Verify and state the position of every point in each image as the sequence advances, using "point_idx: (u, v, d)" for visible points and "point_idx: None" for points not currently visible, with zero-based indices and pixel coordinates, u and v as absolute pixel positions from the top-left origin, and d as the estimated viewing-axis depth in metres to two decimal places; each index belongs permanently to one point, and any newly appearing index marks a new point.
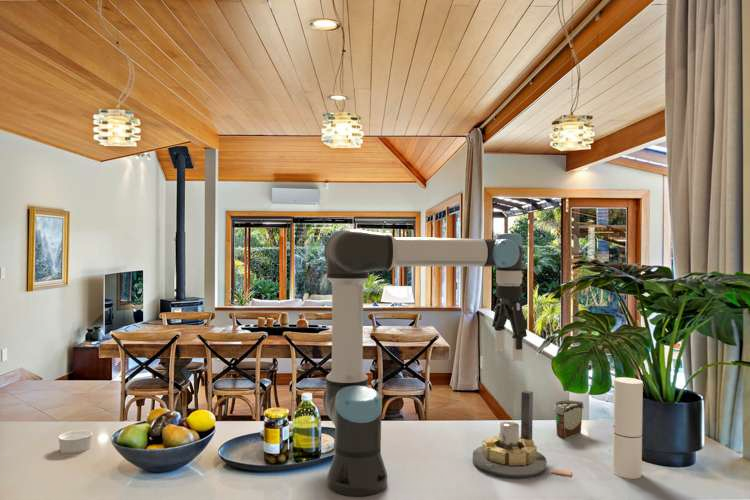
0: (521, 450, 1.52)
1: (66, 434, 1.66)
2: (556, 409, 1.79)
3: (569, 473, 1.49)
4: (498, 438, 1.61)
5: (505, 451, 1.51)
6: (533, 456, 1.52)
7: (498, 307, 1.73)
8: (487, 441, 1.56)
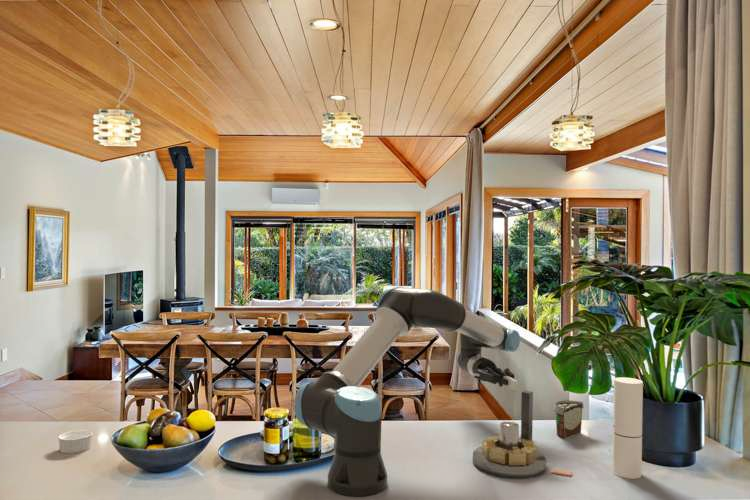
0: (521, 450, 1.52)
1: (66, 434, 1.66)
2: (556, 409, 1.79)
3: (569, 473, 1.49)
4: (498, 438, 1.61)
5: (505, 451, 1.51)
6: (533, 456, 1.52)
7: None
8: (487, 441, 1.56)
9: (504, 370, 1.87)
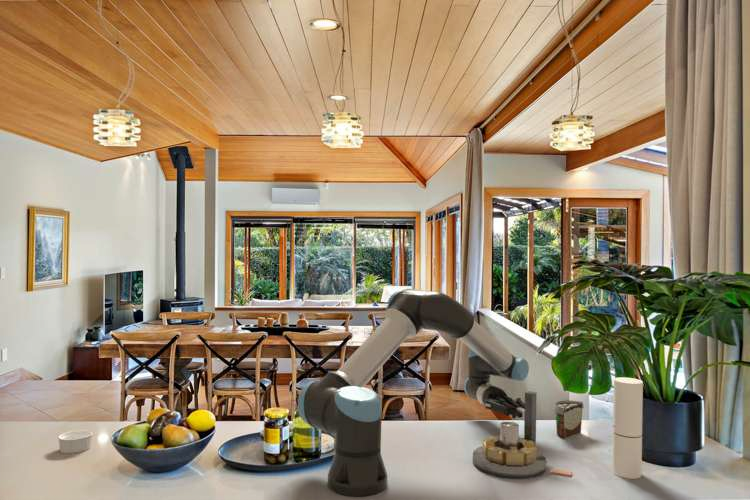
0: (520, 450, 1.52)
1: (66, 434, 1.66)
2: (556, 409, 1.79)
3: (569, 473, 1.49)
4: None
5: (503, 451, 1.51)
6: (532, 457, 1.51)
7: None
8: (486, 440, 1.56)
9: (515, 400, 1.82)
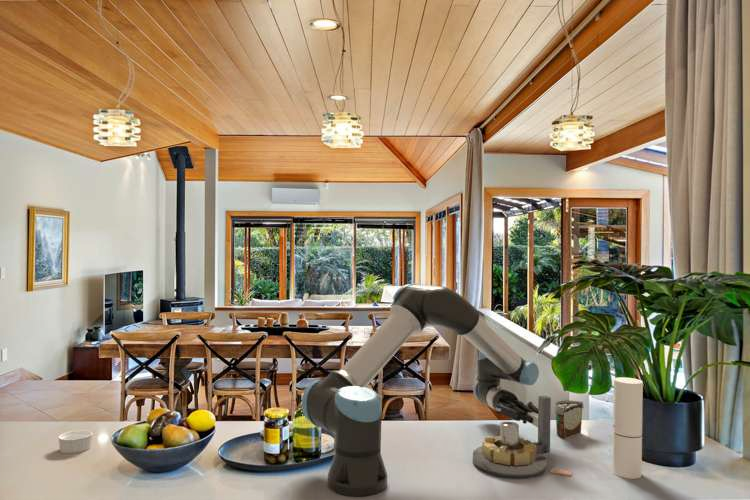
0: (511, 451, 1.51)
1: (66, 434, 1.66)
2: (556, 409, 1.79)
3: (569, 473, 1.49)
4: None
5: (494, 448, 1.53)
6: (523, 460, 1.50)
7: None
8: (487, 437, 1.59)
9: (527, 404, 1.77)
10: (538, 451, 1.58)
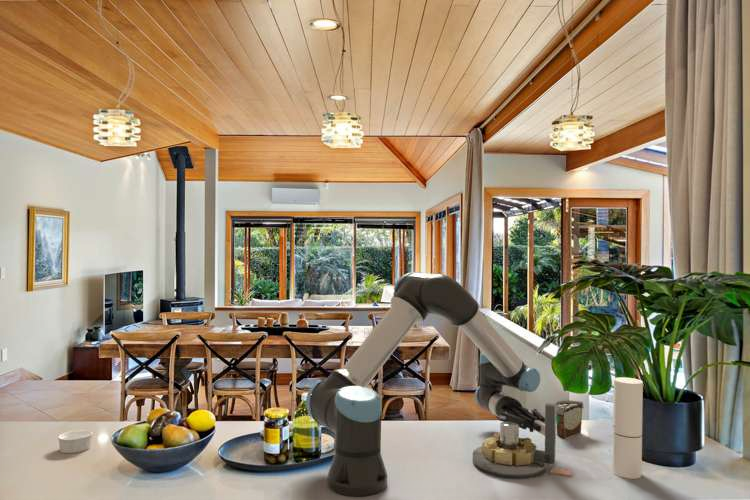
0: (498, 448, 1.53)
1: (65, 434, 1.66)
2: (556, 409, 1.79)
3: (569, 473, 1.49)
4: None
5: None
6: (504, 459, 1.50)
7: None
8: (497, 433, 1.62)
9: (532, 411, 1.69)
10: (539, 459, 1.52)
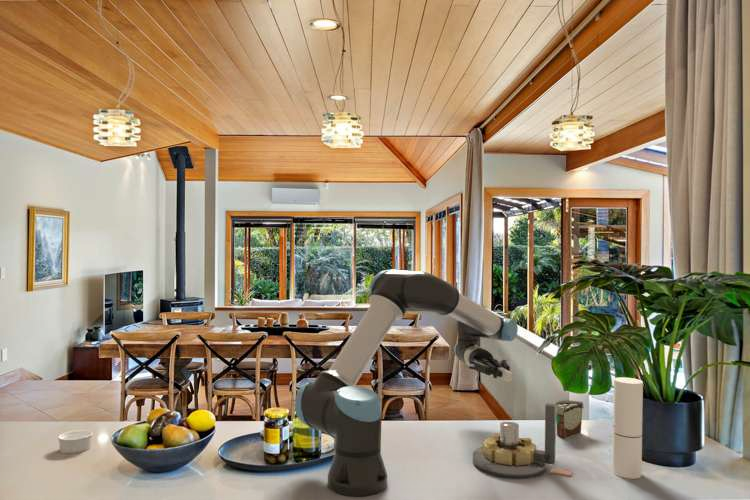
0: (498, 448, 1.53)
1: (65, 434, 1.65)
2: (556, 409, 1.79)
3: (569, 473, 1.49)
4: None
5: None
6: (504, 459, 1.50)
7: None
8: (497, 433, 1.62)
9: (500, 361, 1.82)
10: (539, 459, 1.52)
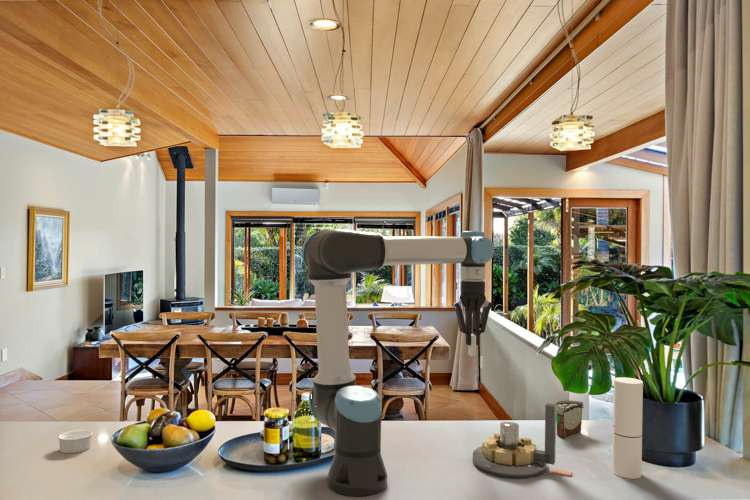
0: (498, 448, 1.53)
1: (65, 434, 1.65)
2: (556, 409, 1.79)
3: (569, 473, 1.49)
4: None
5: None
6: (504, 459, 1.50)
7: (483, 308, 1.78)
8: (497, 433, 1.62)
9: (486, 306, 1.76)
10: (539, 459, 1.52)
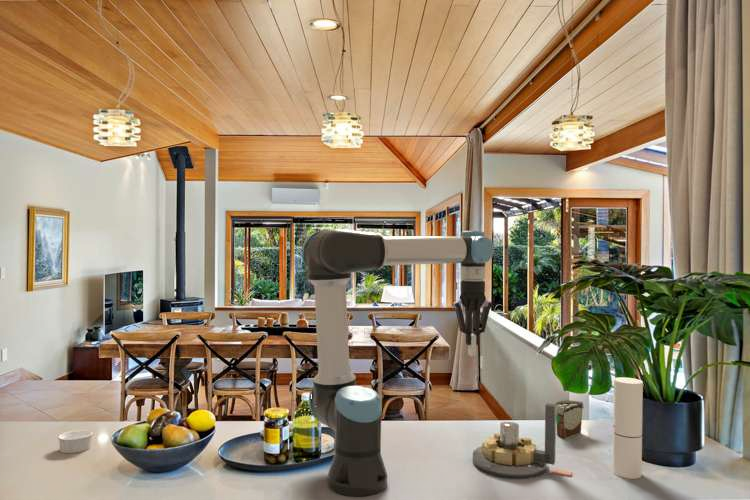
0: (498, 448, 1.53)
1: (65, 434, 1.65)
2: (556, 409, 1.79)
3: (569, 473, 1.49)
4: None
5: None
6: (504, 459, 1.50)
7: (483, 307, 1.78)
8: (497, 433, 1.62)
9: (486, 306, 1.76)
10: (539, 459, 1.52)
